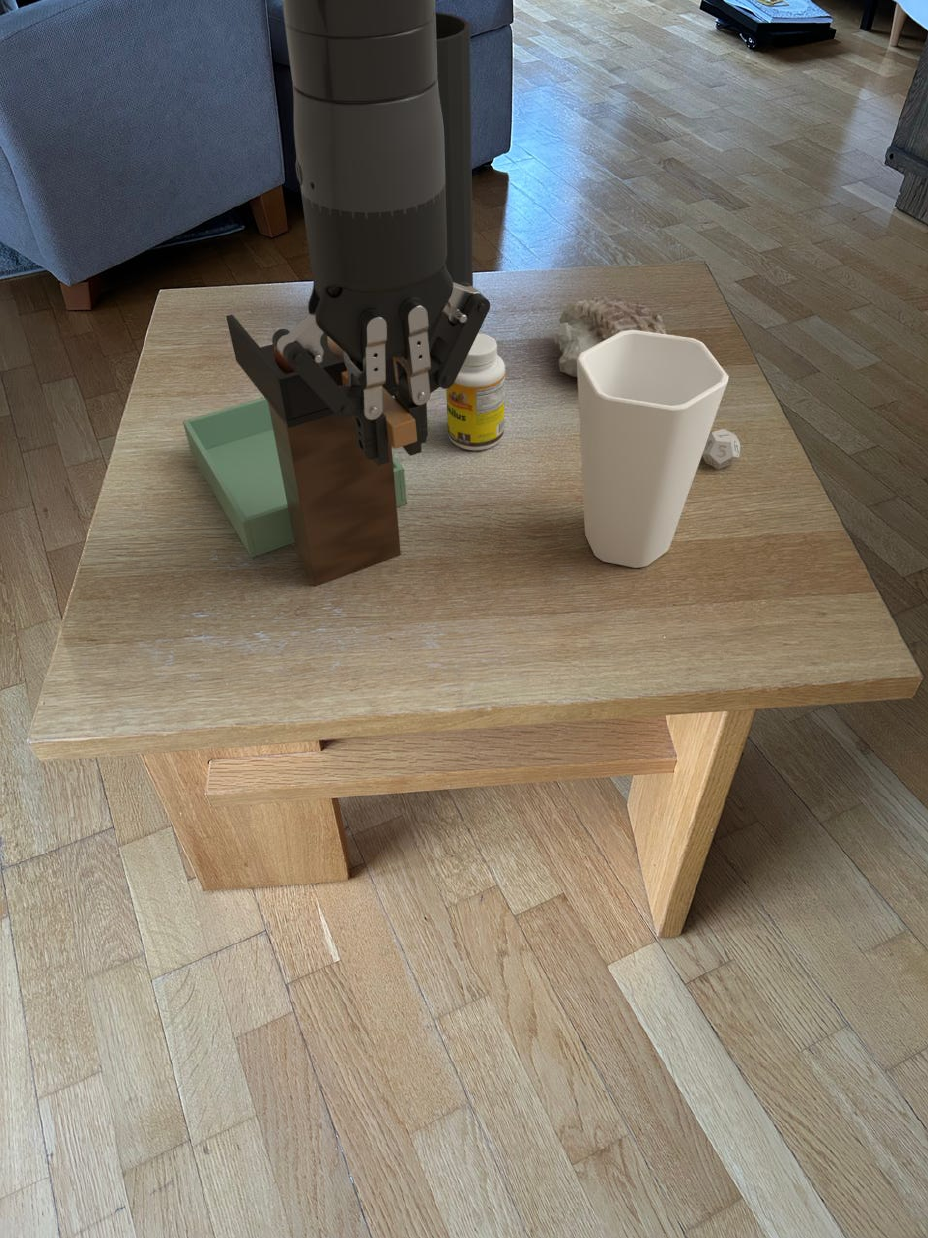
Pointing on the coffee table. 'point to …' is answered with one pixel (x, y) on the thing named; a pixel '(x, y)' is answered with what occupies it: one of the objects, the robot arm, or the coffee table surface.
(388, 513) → the block
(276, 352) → the terracotta ball
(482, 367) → the supplement bottle
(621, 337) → the cup
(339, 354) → the cream ball
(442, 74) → the vase
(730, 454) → the game die
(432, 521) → the coffee table surface
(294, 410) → the pan
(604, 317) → the seashell
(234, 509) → the tray
